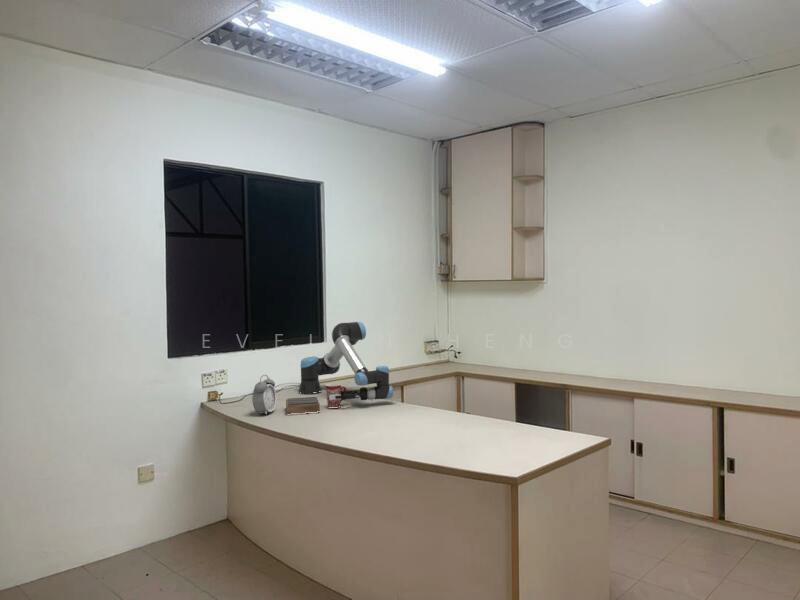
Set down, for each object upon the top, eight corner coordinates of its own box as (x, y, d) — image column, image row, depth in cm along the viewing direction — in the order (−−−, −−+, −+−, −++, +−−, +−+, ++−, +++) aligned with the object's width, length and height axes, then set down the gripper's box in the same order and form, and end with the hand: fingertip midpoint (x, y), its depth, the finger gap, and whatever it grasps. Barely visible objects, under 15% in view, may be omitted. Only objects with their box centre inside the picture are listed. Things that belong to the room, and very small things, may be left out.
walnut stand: (286, 408, 325) (286, 398, 325) (317, 406, 329) (317, 396, 329) (287, 415, 307) (286, 404, 307) (319, 413, 311) (319, 402, 311)
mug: (330, 410, 318) (329, 386, 318) (323, 407, 326) (323, 384, 326) (349, 407, 325) (349, 384, 325) (342, 404, 333) (342, 382, 333)
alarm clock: (265, 417, 303) (264, 377, 303) (251, 416, 305) (250, 377, 304) (278, 410, 319) (277, 372, 319) (264, 410, 321) (263, 372, 321)
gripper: (370, 403, 319) (330, 406, 314) (364, 396, 339) (326, 398, 334) (370, 390, 319) (330, 392, 314) (363, 384, 339) (326, 386, 334)
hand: (328, 395), depth 324 cm, fingers closed on mug, 8 cm apart
